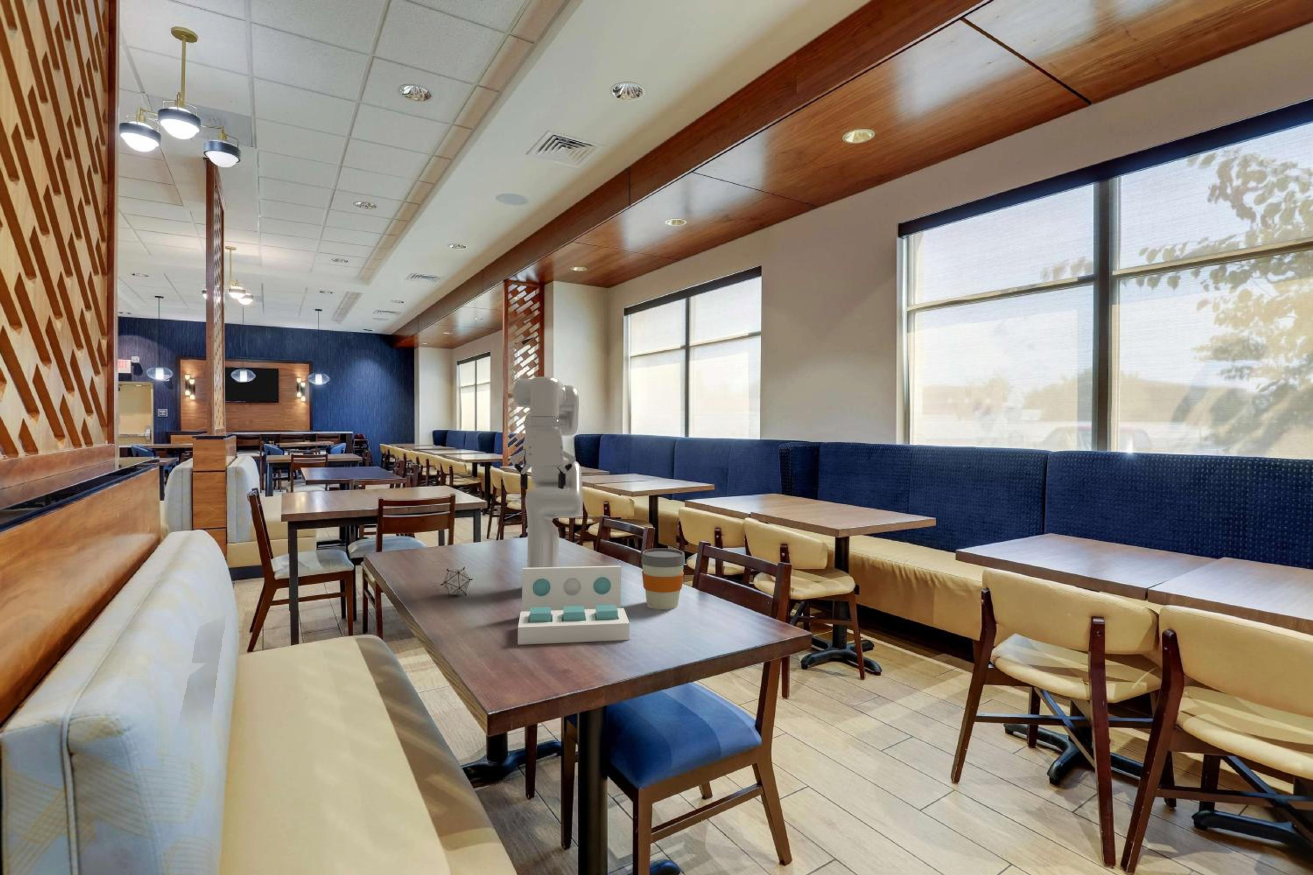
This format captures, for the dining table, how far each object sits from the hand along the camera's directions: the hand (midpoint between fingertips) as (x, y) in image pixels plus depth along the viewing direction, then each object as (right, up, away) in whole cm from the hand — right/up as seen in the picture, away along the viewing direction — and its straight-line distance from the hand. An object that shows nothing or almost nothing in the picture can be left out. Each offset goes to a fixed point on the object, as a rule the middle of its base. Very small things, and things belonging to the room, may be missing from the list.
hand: (543, 488), depth 160 cm
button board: (+10, -35, -11) cm, 38 cm away
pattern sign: (+7, -34, +3) cm, 35 cm away
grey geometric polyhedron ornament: (-29, -33, +20) cm, 48 cm away
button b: (+10, -32, -11) cm, 35 cm away
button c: (+17, -32, -10) cm, 38 cm away
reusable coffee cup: (+32, -35, +14) cm, 49 cm away
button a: (+2, -32, -13) cm, 34 cm away
